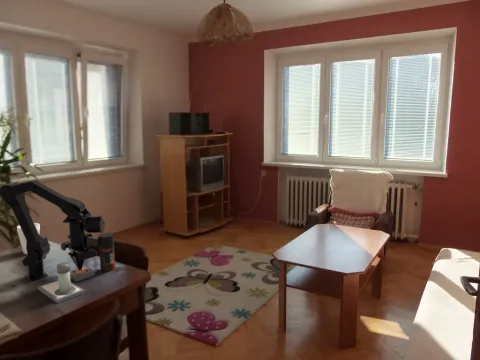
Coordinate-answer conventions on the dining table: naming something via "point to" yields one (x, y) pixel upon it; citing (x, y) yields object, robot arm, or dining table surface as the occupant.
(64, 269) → the knob
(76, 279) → the button housing
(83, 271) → the button
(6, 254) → the dining table surface
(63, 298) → the board
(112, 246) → the deodorant
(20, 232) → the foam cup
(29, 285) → the dining table surface
